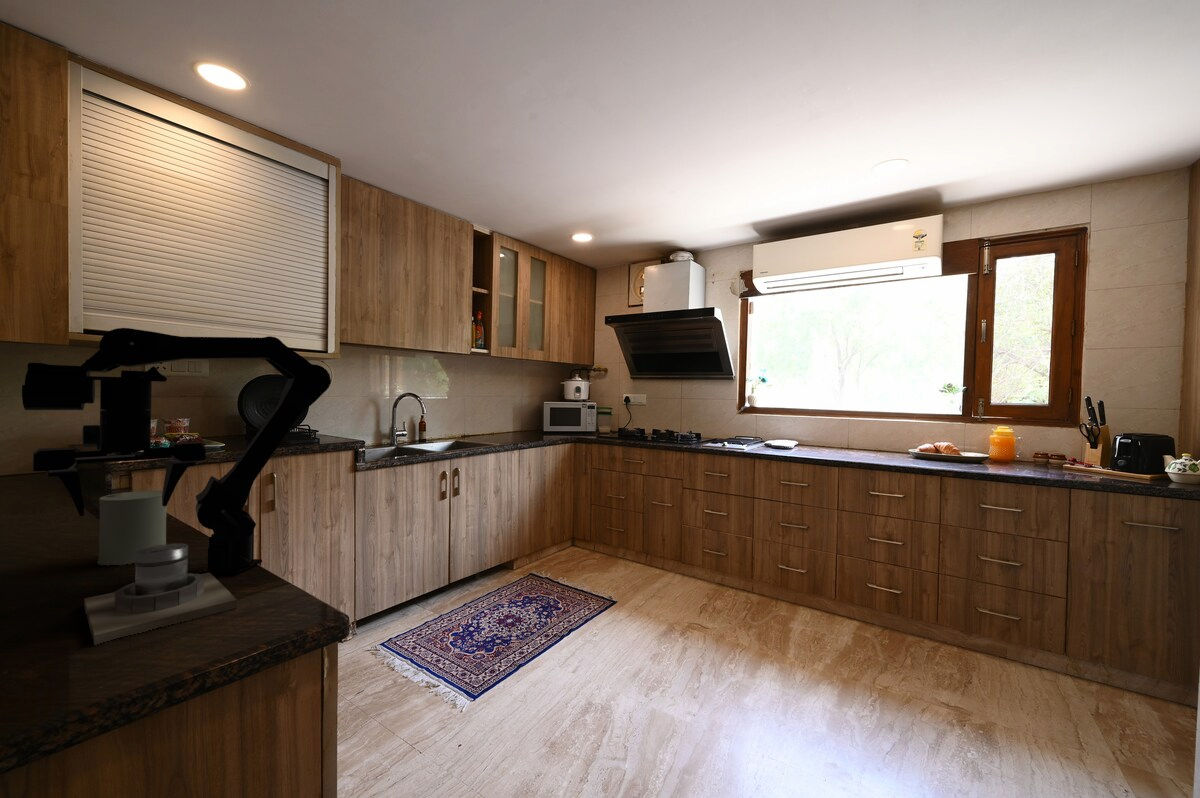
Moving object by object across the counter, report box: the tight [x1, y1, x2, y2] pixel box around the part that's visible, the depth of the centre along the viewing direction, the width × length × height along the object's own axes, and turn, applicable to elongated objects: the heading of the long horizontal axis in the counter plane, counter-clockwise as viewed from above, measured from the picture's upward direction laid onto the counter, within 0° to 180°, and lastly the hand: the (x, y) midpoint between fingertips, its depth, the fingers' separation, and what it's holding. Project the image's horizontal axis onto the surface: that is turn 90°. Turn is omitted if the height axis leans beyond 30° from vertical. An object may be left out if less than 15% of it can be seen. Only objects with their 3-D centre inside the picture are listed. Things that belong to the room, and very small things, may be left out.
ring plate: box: [83, 572, 238, 646], centre depth 68 cm, size 16×14×3 cm
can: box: [97, 490, 168, 567], centre depth 89 cm, size 9×9×12 cm
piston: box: [134, 542, 189, 596], centre depth 69 cm, size 6×6×7 cm
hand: (124, 510), depth 75 cm, fingers open, 9 cm apart
